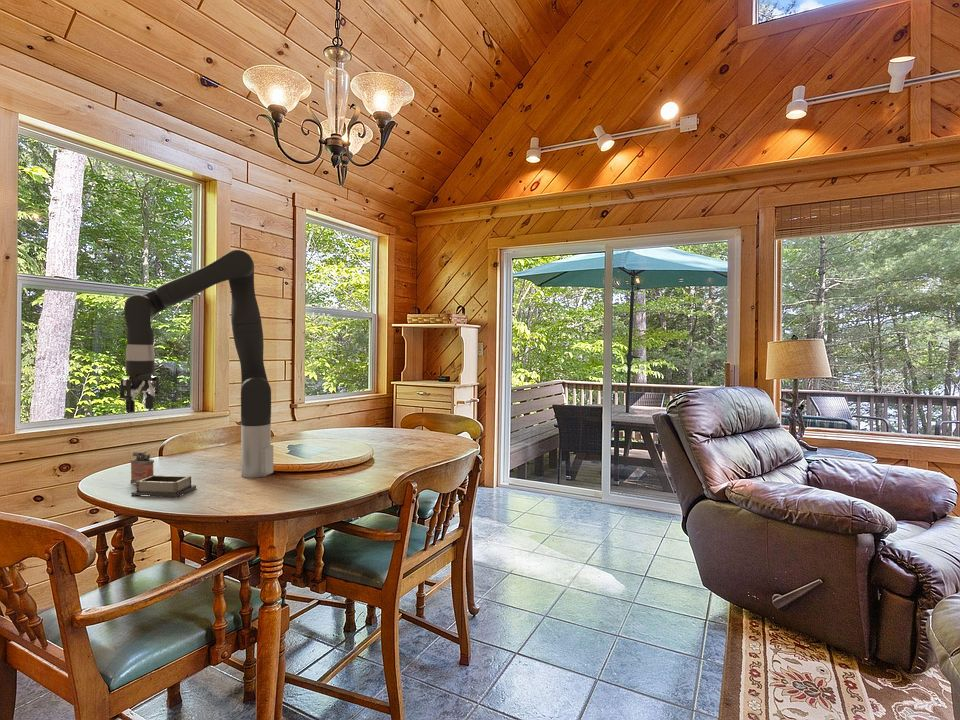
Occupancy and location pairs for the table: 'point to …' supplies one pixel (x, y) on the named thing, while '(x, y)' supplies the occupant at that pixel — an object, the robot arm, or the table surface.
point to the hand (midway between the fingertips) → (140, 410)
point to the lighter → (141, 466)
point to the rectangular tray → (164, 486)
